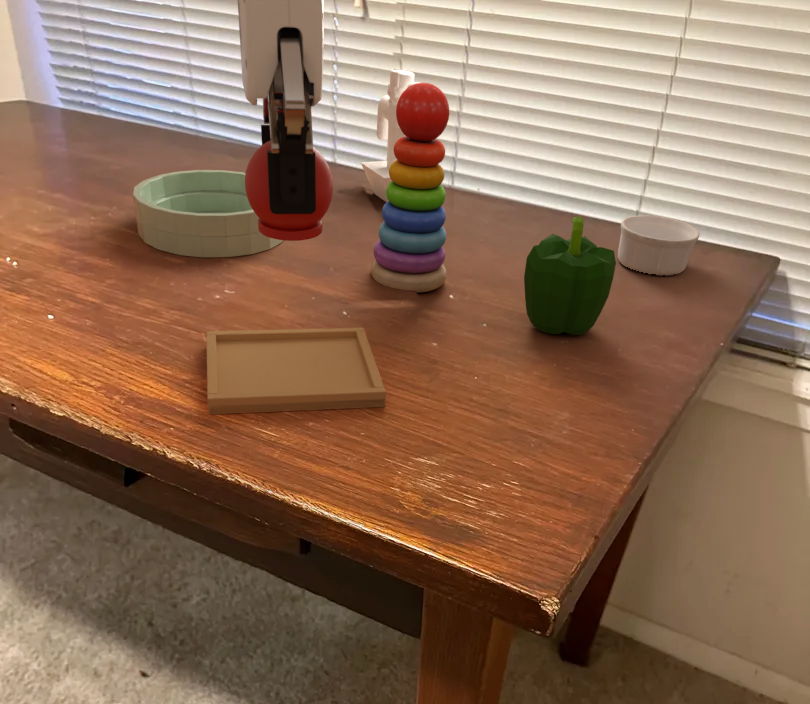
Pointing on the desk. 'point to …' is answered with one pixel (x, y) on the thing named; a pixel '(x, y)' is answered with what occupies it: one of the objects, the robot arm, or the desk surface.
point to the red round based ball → (286, 224)
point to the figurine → (388, 131)
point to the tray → (291, 370)
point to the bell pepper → (567, 282)
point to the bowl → (199, 214)
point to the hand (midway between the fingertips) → (288, 194)
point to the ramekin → (656, 244)
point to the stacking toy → (415, 196)
